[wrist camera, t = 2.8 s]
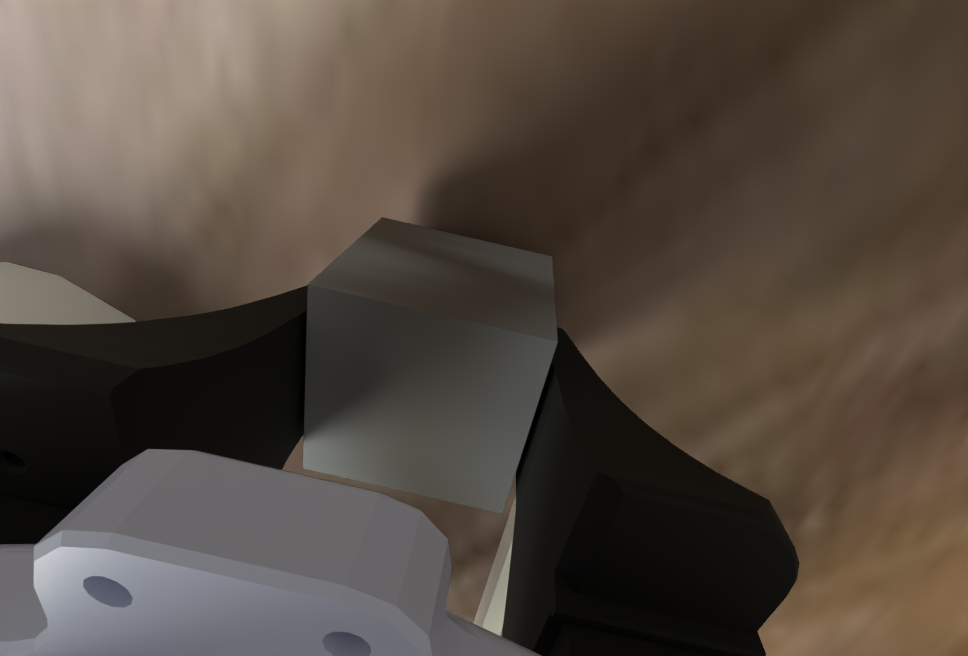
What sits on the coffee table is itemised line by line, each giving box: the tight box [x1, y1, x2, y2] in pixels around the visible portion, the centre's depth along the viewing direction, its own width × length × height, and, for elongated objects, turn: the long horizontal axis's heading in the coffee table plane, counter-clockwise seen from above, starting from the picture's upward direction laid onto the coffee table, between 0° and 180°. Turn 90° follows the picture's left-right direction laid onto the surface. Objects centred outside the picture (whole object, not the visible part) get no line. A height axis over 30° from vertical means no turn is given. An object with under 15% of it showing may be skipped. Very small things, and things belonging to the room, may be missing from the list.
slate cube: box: [303, 217, 558, 514], centre depth 11 cm, size 4×4×4 cm
